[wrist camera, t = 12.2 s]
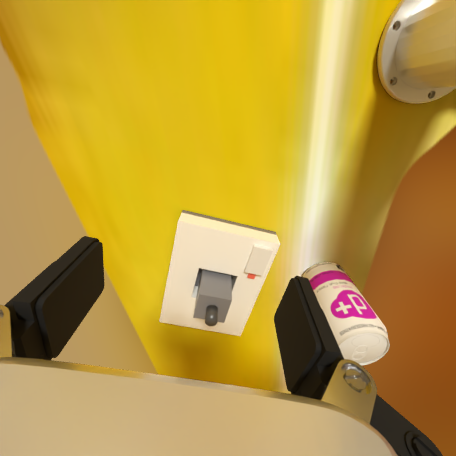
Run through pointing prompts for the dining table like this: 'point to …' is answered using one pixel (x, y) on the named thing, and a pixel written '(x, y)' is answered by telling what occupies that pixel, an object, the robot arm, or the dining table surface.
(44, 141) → the dining table surface
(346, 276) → the supplement can
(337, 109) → the dining table surface
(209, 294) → the plug
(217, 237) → the socket
